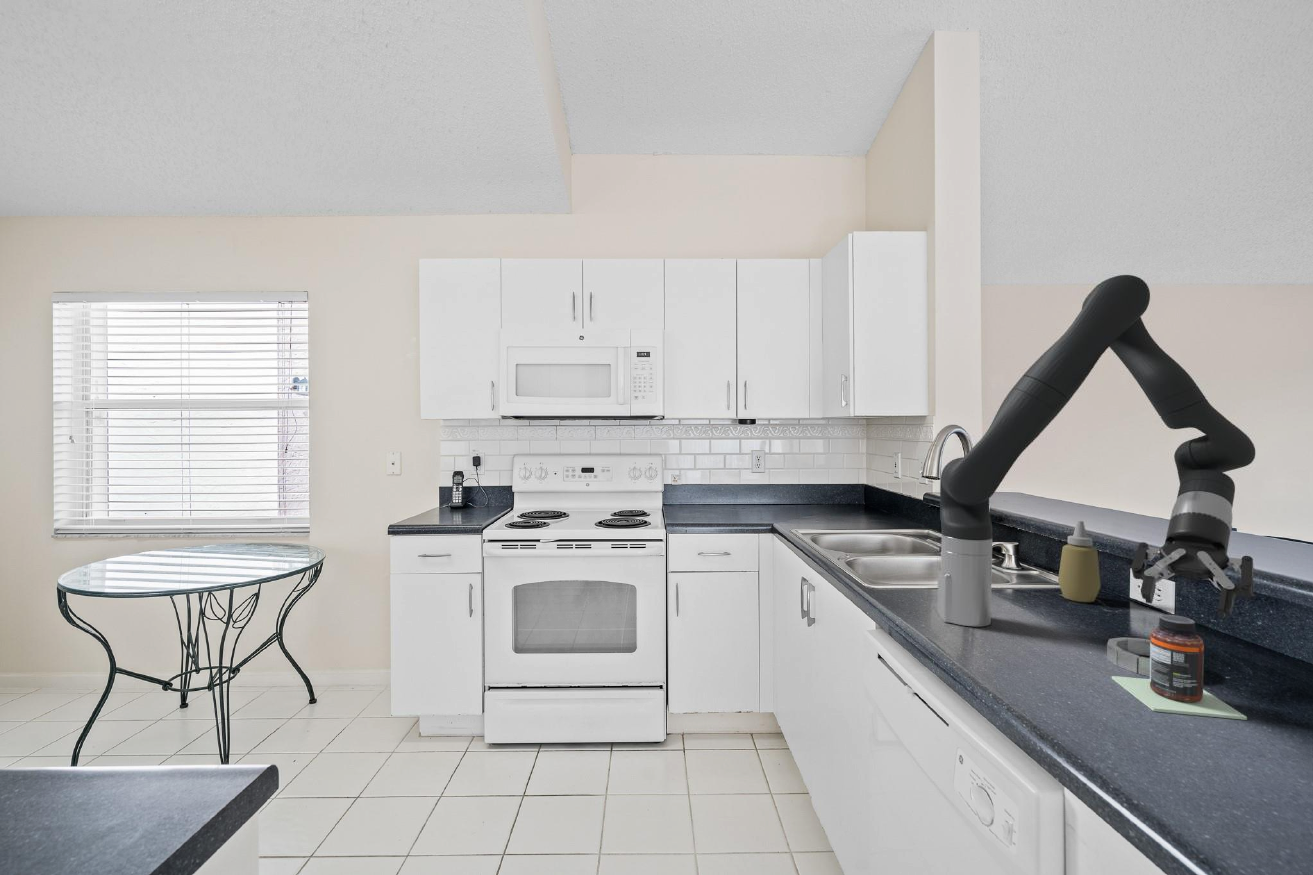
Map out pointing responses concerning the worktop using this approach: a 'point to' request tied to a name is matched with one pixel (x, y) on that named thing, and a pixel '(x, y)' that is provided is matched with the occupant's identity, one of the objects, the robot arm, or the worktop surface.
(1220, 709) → the mat
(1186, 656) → the supplement bottle
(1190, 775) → the worktop surface
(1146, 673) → the holder ring
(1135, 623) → the worktop surface
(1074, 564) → the squeeze bottle
